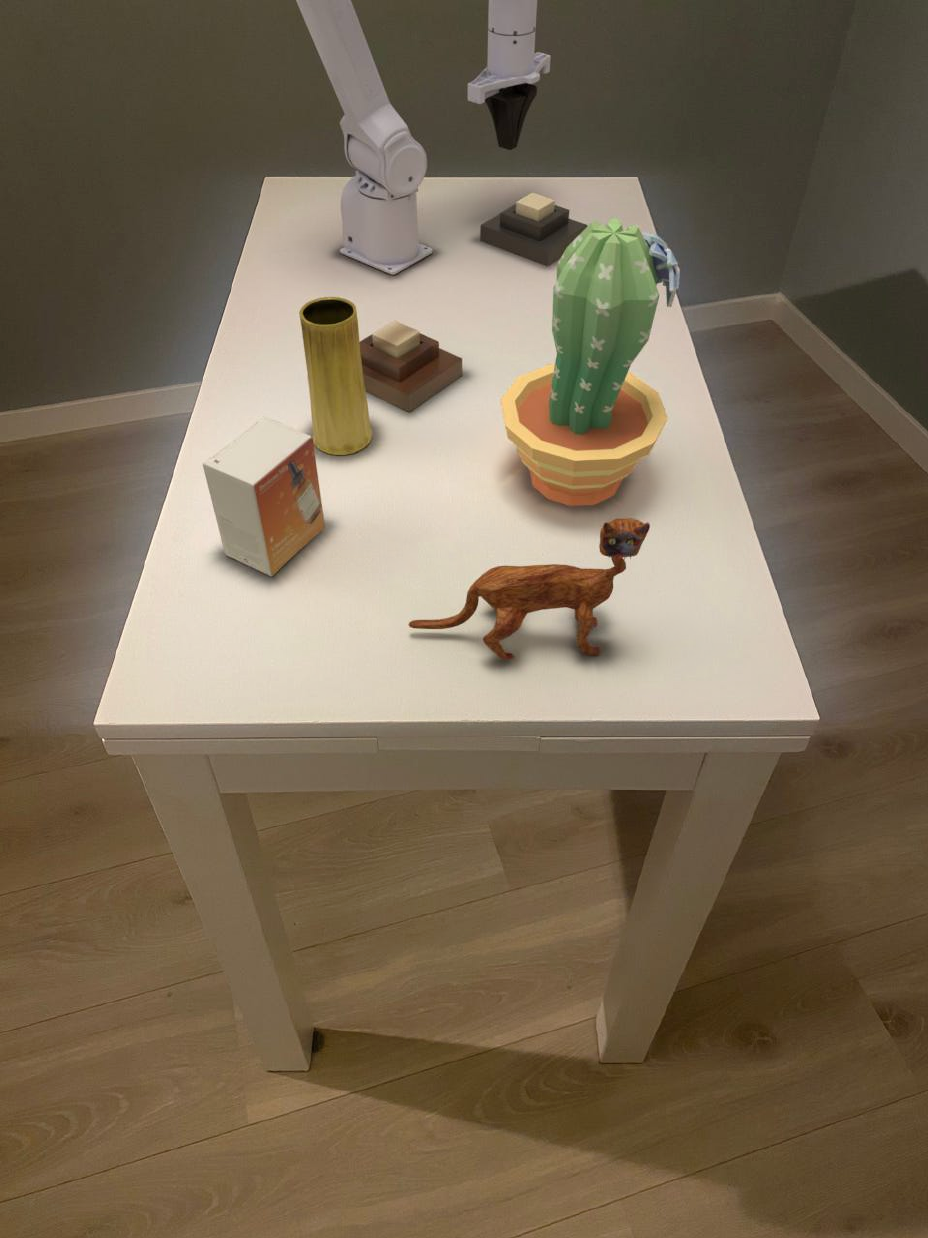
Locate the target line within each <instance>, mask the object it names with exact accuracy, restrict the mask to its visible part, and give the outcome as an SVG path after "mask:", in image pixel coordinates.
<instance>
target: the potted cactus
mask: <svg viewBox="0 0 928 1238" xmlns="http://www.w3.org/2000/svg"><path fill="white" fill-rule="evenodd" d="M587 225H588V227H587V228H586V229H585V230H584V231H583V232H582V233H581V234H580V235H579V236H578V237H577V238H576V239H575V240H574V241H573V242H572V243H571V244H570V245H569V246H568V247H567V248H566V250H565V252H564V253H563V255H562V257H561V258H559V259H558V262H557V264H556V281H555V284H554V286H553V287H552V288H553V290H552V318H551V319H552V321H551V332H552V337H553V342H554V346H555V351H556V357H555V361H554V363H550V364H547V365H545V366H542V367H539V368H537V369H534V370H532V371H530V372H527V373H525V374H522V375H520V376H517V377H516V379H514V381H513V382H512V384H511V385H510V386H509V388H508V389H507V390H506V391H505V393H504V394H503V395H502V397H501V398H500V404H501V410H502V417H503V421H504V427H505V431H506V437H507V439H509V440H510V441H511V442H512V444H514V445H515V446H516V449H517V452H518V454H519V457H520V459H521V462H522V463H523V464H524V465H525V467H527V469H528V470H529V474H530V479H531V485H532V487H533V488H535V489H536V490H537V491H538V493H540V494H541V495H542V496H544V498H546V499H547V500H549V501H552V502H556V503H559V504H563V505H566V506H568V507H579V506H595V505H597V504H599V503H601V502H603V501H606V500H607V499H610V498H613V497H614V495H616V492H617V491H618V488H619V487H620V485H621V483H622V480H623V479H625V478H626V477H627V476H629V475H630V474H631V473H632V471H633V469H634V468H635V467H636V465H637V463H638V462H639V460H640V459H642V458H645V457H647V456H649V455H650V453H651V452H652V450H653V447H654V446H655V444H656V443H657V441H658V439H659V437H660V435H661V433H662V432H663V429H664V427H665V426H666V423H667V421H668V418H669V417H668V415H667V414H668V413H667V411H666V409H665V406H664V403H663V401H662V398H661V396H660V393H659V392H658V391H657V390H655V389H654V388H653V387H652V386H650V385H649V384H647V383H646V382H644V381H643V380H642V379H640V378H639V377H637V376H636V375H634V374H633V373H632V372H630V371H629V370H630V368H631V365H632V364H633V363H634V361H635V360H636V359H637V357H638V356H639V354H640V353H641V351H642V350H643V349H644V347H645V346H646V345H647V343H648V342H649V339H650V336H651V332H652V329H653V323H654V319H655V316H656V312H657V307H658V303H659V300H660V293H659V289H658V287H657V286H658V284H662V286H663V287H665V290H666V292H665V293H666V307H667V308H672V306H673V304H674V299H675V297H676V292H677V290H679V288H680V286H679V285H680V275H681V273H680V272H681V269H680V268H679V266H678V265H679V263H678V261H677V259H676V257H675V255H674V253H673V251H672V249H670V248H669V247H668V244H667V243H666V242H665V240H663V239H662V238H661V237H660V236H659V235H658V234H655V233H649V232H642V231H641V230H640V228H639V226H637V225H636V224H634V225H630V226H628V227H627V228H626V230H623V224H622V222H621V219H620V218H618V217H611V219H610V220H609V221H608V222H607V223H606V225H603V224H602V223H600V222H597V221H595V220H593V221H591V222H590V223H589V224H587Z"/></svg>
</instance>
